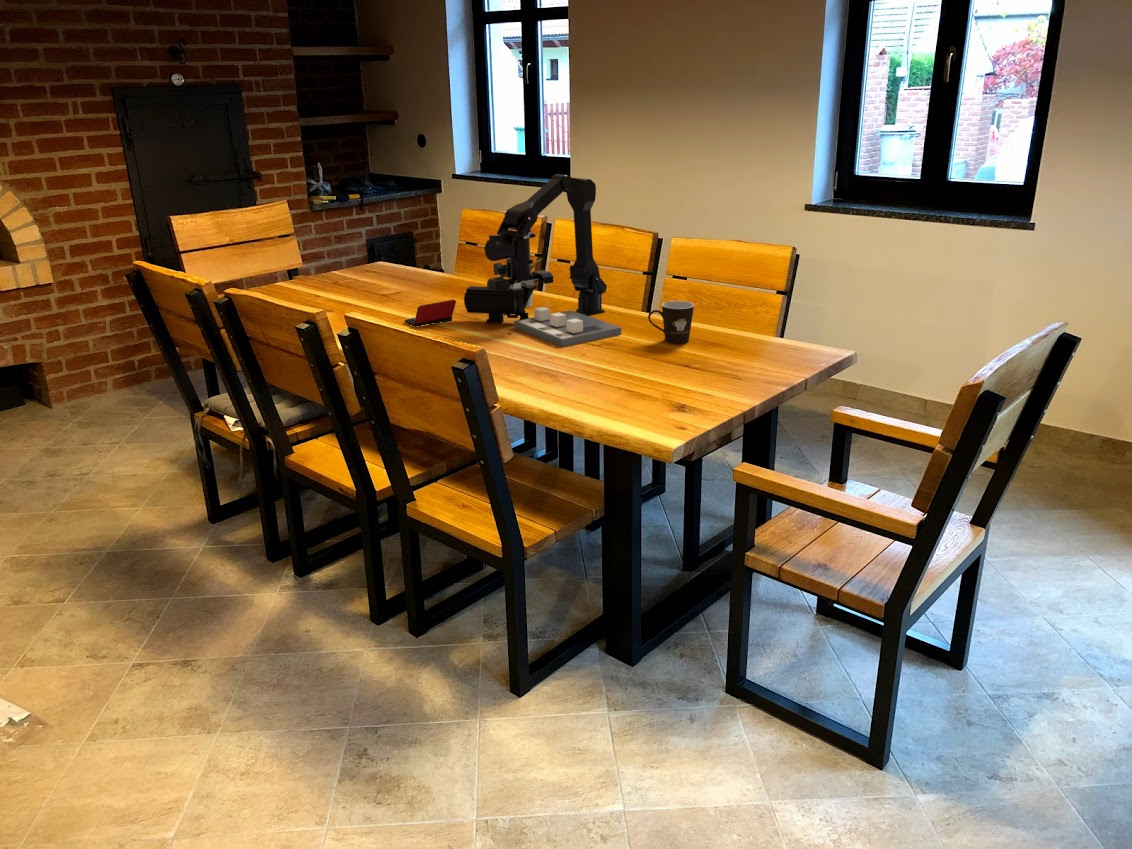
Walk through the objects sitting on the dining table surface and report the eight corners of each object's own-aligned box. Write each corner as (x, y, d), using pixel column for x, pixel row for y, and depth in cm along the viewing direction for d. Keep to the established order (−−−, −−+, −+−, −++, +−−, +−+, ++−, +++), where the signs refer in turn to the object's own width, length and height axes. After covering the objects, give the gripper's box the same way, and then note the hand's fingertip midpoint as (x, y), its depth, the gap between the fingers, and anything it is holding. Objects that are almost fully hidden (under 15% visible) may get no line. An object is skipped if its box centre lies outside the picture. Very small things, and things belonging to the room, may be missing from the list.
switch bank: (570, 316, 271) (570, 309, 270) (621, 334, 252) (621, 326, 252) (514, 327, 260) (514, 320, 259) (562, 347, 242) (562, 339, 241)
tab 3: (576, 328, 250) (576, 318, 249) (583, 331, 247) (582, 320, 246) (566, 330, 248) (566, 320, 247) (573, 333, 246) (573, 322, 244)
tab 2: (559, 322, 256) (559, 312, 255) (566, 325, 253) (566, 314, 252) (550, 324, 254) (550, 314, 253) (556, 327, 252) (556, 316, 251)
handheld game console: (440, 316, 274) (438, 292, 271) (458, 324, 266) (457, 299, 263) (402, 323, 267) (400, 298, 264) (420, 331, 259) (418, 305, 256)
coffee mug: (695, 337, 248) (697, 302, 245) (689, 346, 241) (690, 309, 237) (654, 334, 252) (655, 299, 248) (646, 343, 244) (647, 306, 241)
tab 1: (543, 316, 262) (543, 306, 261) (549, 319, 260) (549, 309, 258) (534, 318, 260) (534, 308, 259) (540, 321, 258) (540, 310, 257)
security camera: (525, 326, 261) (524, 292, 258) (463, 324, 265) (461, 290, 261) (530, 320, 268) (529, 287, 264) (470, 318, 271) (468, 285, 267)
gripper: (531, 247, 260) (533, 300, 266) (475, 255, 250) (478, 310, 256) (554, 253, 252) (555, 307, 258) (496, 261, 242) (498, 318, 248)
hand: (521, 310), depth 255 cm, fingers closed
